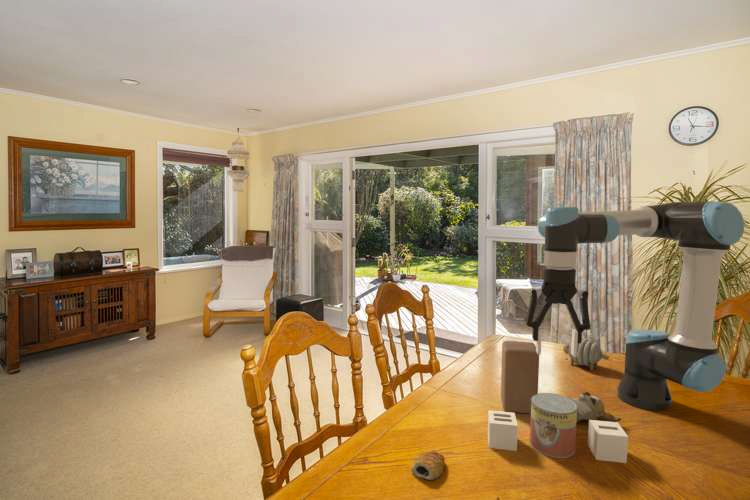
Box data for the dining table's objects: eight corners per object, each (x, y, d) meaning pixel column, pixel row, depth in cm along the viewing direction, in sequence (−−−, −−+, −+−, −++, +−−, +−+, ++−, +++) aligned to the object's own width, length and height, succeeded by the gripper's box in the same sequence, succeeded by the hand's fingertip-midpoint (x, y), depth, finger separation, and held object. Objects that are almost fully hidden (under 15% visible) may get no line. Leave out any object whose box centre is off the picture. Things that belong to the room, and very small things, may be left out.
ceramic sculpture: (556, 384, 129) (602, 385, 130) (553, 411, 129) (598, 411, 131) (575, 400, 118) (625, 401, 119) (572, 429, 119) (621, 430, 120)
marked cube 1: (513, 436, 116) (514, 412, 115) (516, 451, 109) (517, 425, 108) (487, 434, 117) (488, 409, 116) (489, 448, 110) (489, 422, 109)
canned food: (522, 446, 111) (524, 403, 109) (538, 429, 119) (539, 389, 118) (567, 463, 103) (570, 417, 102) (580, 444, 112) (582, 401, 110)
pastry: (426, 455, 107) (427, 441, 107) (451, 464, 104) (451, 449, 103) (409, 474, 100) (409, 459, 99) (435, 485, 96) (435, 469, 95)
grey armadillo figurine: (566, 357, 175) (568, 332, 174) (611, 368, 164) (613, 340, 163) (558, 364, 167) (559, 338, 166) (604, 376, 156) (606, 347, 155)
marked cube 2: (616, 447, 110) (617, 421, 110) (626, 463, 103) (628, 436, 103) (587, 444, 112) (589, 419, 111) (595, 460, 105) (597, 433, 104)
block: (537, 415, 127) (540, 352, 125) (503, 412, 129) (505, 349, 127) (532, 400, 137) (534, 341, 135) (500, 398, 139) (502, 339, 137)
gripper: (599, 266, 108) (594, 351, 110) (515, 264, 112) (512, 346, 114) (609, 270, 100) (604, 361, 103) (518, 268, 105) (515, 356, 107)
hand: (555, 353), depth 109 cm, fingers open, 8 cm apart
